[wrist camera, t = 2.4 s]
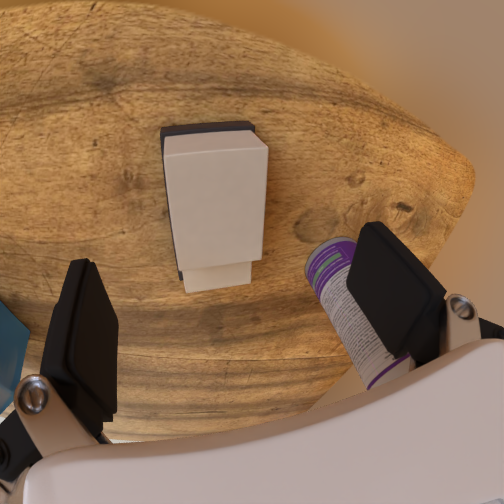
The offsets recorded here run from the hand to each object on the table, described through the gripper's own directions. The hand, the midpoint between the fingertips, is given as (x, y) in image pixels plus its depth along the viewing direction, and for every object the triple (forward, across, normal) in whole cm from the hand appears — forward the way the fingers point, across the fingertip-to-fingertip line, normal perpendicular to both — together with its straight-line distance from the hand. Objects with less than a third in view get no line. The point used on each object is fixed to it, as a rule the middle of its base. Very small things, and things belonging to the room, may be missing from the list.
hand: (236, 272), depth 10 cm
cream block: (+7, 0, +1) cm, 7 cm away
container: (+7, -9, +7) cm, 14 cm away
